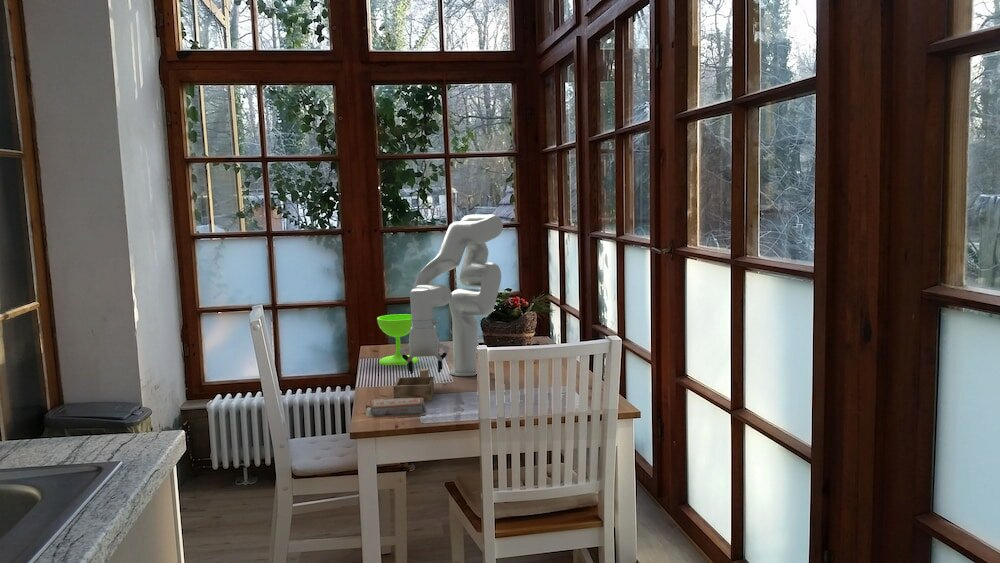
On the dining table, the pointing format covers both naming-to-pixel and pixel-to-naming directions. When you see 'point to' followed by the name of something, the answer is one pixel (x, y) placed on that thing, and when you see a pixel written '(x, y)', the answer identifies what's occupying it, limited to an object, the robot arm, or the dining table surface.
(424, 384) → the walnut box
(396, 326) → the wineglass
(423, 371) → the lid
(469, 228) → the robot arm
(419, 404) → the packaged product
